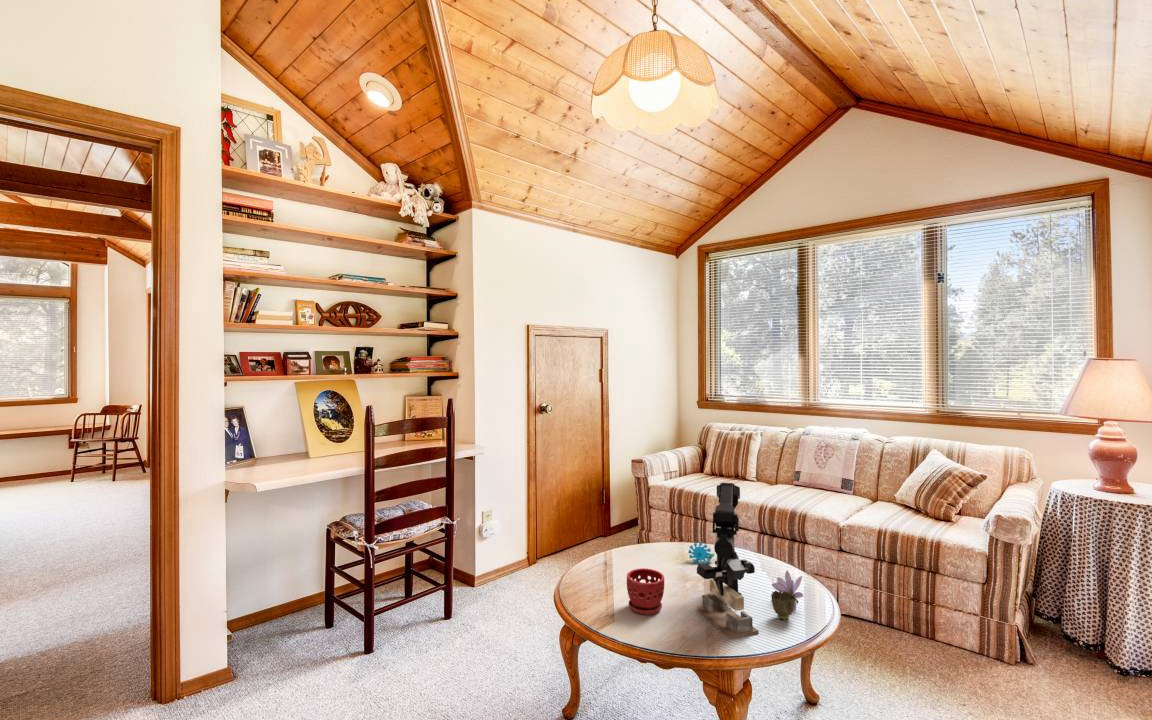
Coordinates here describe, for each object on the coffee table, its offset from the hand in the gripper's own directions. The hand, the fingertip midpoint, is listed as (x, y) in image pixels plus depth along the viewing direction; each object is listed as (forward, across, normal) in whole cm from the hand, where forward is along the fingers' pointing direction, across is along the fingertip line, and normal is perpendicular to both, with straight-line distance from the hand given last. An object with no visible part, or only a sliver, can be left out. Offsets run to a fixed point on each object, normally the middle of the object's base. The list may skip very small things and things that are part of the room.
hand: (726, 594), depth 179 cm
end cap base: (+9, 0, 0) cm, 9 cm away
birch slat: (+2, 0, 0) cm, 2 cm away
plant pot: (+9, -22, +16) cm, 29 cm away
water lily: (+9, +27, +5) cm, 29 cm away
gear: (+9, +19, +52) cm, 56 cm away
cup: (+9, +19, -4) cm, 21 cm away
